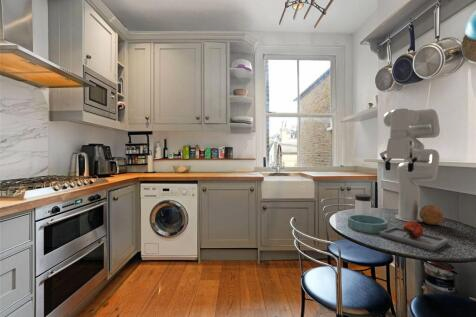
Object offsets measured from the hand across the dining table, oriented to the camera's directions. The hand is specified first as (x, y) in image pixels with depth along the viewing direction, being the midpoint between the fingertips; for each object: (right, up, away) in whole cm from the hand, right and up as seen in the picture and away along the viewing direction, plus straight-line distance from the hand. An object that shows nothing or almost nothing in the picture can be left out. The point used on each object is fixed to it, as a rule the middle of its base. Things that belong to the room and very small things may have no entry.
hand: (398, 170), depth 117 cm
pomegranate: (-3, -28, -13) cm, 31 cm away
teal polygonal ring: (-13, -28, +4) cm, 31 cm away
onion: (+22, -28, +9) cm, 37 cm away
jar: (-4, -28, +26) cm, 38 cm away
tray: (-3, -29, -13) cm, 32 cm away
